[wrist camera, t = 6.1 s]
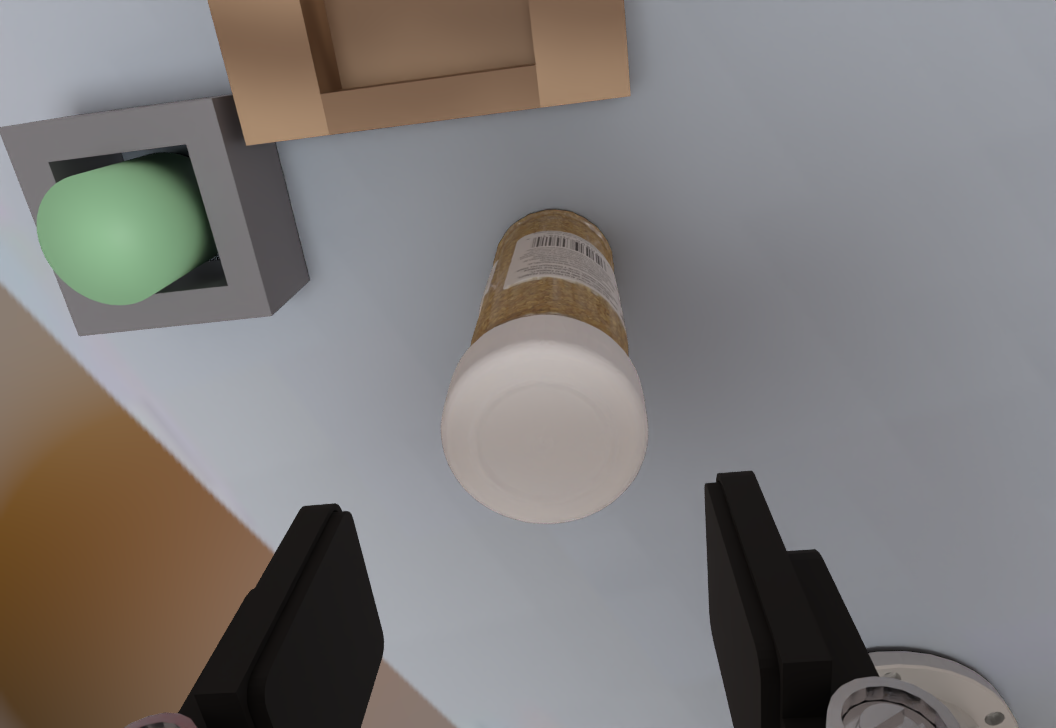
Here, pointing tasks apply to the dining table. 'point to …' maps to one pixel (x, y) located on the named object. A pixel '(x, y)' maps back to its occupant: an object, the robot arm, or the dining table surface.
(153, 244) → the button
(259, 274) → the gray square box
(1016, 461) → the dining table surface
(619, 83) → the wooden compartment tray
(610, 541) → the dining table surface
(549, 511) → the sprinkles bottle
